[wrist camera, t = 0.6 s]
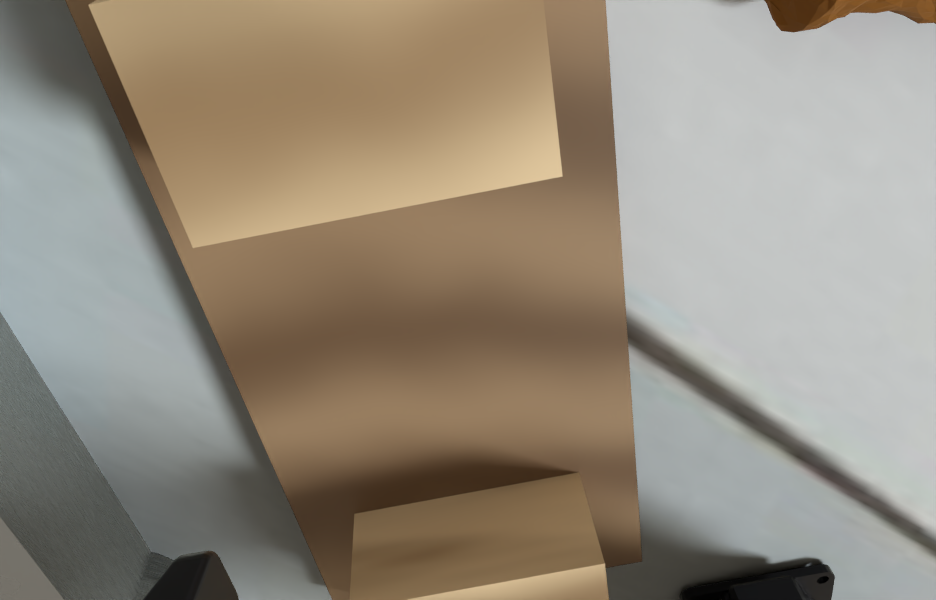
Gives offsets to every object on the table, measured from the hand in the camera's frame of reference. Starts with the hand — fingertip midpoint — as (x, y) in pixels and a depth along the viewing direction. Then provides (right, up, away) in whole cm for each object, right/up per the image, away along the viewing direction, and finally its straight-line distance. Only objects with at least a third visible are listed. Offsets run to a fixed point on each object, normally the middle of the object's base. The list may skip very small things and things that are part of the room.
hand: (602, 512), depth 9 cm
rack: (-3, +2, +15) cm, 15 cm away
